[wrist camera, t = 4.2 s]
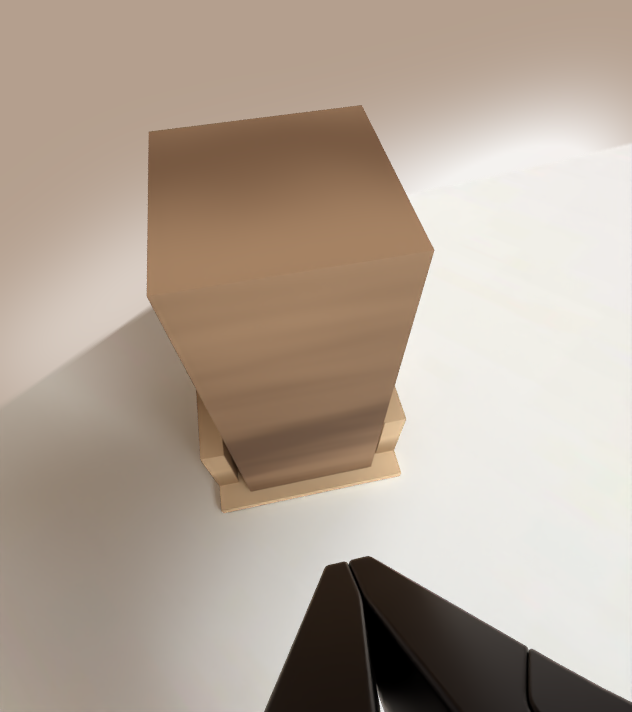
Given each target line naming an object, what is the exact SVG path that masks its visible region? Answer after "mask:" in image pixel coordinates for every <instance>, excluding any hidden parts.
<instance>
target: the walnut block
mask: <svg viewBox="0 0 632 712" xmlns="http://www.w3.org/2000/svg"><path fill="white" fill-rule="evenodd" d="M148 158H149V159H148V163H149V164H148V240H147V244H148V245H147V298H148V300H149V301H150V303H151V305H152V307H153V309H154V311H155V313H156V315H157V316H158V318H159V320H160V322H161V324H162V326H163V328H164V330H165V332H166V333H167V335H168V337H169V339H170V341H171V343H172V345H173V347H174V348H175V350H176V352H177V354H178V356H179V358H180V360H181V362H182V364H183V365H184V367H185V369H186V371H187V373H188V375H189V377H190V379H191V380H192V382H193V384H194V386H195V388H196V390H197V392H198V394H199V396H200V397H201V399H202V401H203V403H204V405H205V407H206V409H207V411H208V412H209V414H210V416H211V418H212V420H213V422H214V424H215V426H216V427H217V429H218V431H219V433H220V435H221V437H222V439H223V441H224V443H225V444H226V446H227V448H228V450H229V452H230V454H231V456H232V458H233V459H234V461H235V463H236V465H237V467H238V469H239V471H240V473H241V475H242V476H243V478H244V480H245V482H246V484H247V486H248V488H249V490H250V491H251V492H252V491H257V490H262V489H267V488H272V487H276V486H281V485H286V484H291V483H295V482H300V481H305V480H310V479H315V478H319V477H324V476H329V475H334V474H339V473H343V472H348V471H353V470H358V469H363V468H367V467H371V464H372V461H373V458H374V454H375V451H376V447H377V444H378V441H379V437H380V434H381V430H382V427H383V423H384V420H385V417H386V413H387V410H388V406H389V403H390V400H391V396H392V393H393V389H394V386H395V383H396V379H397V376H398V372H399V369H400V365H401V362H402V359H403V355H404V352H405V348H406V345H407V342H408V338H409V335H410V331H411V328H412V325H413V321H414V318H415V314H416V311H417V307H418V304H419V301H420V297H421V294H422V290H423V287H424V284H425V280H426V277H427V273H428V270H429V267H430V263H431V260H432V256H433V253H434V249H433V247H432V245H431V243H430V241H429V239H428V237H427V235H426V233H425V231H424V229H423V227H422V225H421V223H420V221H419V219H418V217H417V215H416V213H415V211H414V209H413V207H412V205H411V203H410V201H409V199H408V197H407V195H406V193H405V191H404V189H403V187H402V185H401V183H400V181H399V179H398V177H397V175H396V173H395V171H394V169H393V167H392V165H391V163H390V161H389V159H388V157H387V155H386V153H385V151H384V149H383V147H382V145H381V143H380V141H379V139H378V137H377V135H376V133H375V131H374V129H373V127H372V125H371V123H370V121H369V119H368V117H367V115H366V113H365V111H364V109H363V107H362V105H359V106H351V107H343V108H336V109H327V110H319V111H312V112H304V113H295V114H288V115H279V116H272V117H263V118H255V119H247V120H239V121H231V122H223V123H215V124H207V125H199V126H191V127H183V128H175V129H167V130H159V131H151V132H149V157H148Z"/></svg>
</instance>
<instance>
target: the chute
mask: <svg viewBox="0 0 632 712" xmlns="http://www.w3.org/2000/svg"><path fill="white" fill-rule="evenodd" d="M196 394H197V410H198V427H199V443H200V460H201V461H202V463H203V464H204V465H205V467H206V468H207V470H208V471H209V472H210V474H211V475H212V476H213V478H214V479H215V481H216V482H217V483H218V485H219V486H220V498H221V510H222V512H223V513H227V512H232V511H237V510H241V509H246V508H251V507H255V506H260V505H265V504H270V503H274V502H279V501H284V500H288V499H293V498H298V497H302V496H307V495H312V494H317V493H321V492H326V491H331V490H335V489H340V488H345V487H350V486H354V485H359V484H364V483H368V482H373V481H378V480H383V479H387V478H392V477H397V476H400V474H401V471H400V468H399V465H398V462H397V458H396V455H395V452H394V449H395V446H396V443H397V441H398V438H399V436H400V433H401V431H402V428H403V426H404V423H405V421H406V417H405V414H404V411H403V408H402V405H401V403H400V400H399V397H398V394H397V391H396V388H395V386H394V389H393V393H392V396H391V400H390V403H389V406H388V410H387V413H386V417H385V420H384V423H383V427H382V430H381V434H380V437H379V441H378V444H377V447H376V451H375V454H374V458H373V461H372V464H371V467H367V468H363V469H358V470H353V471H348V472H343V473H339V474H334V475H329V476H324V477H319V478H315V479H310V480H305V481H300V482H295V483H291V484H286V485H281V486H276V487H272V488H267V489H262V490H257V491H252V492H251V491H250V490H249V488H248V486H247V484H246V482H245V480H244V478H243V476H242V475H241V473H240V471H239V469H238V467H237V465H236V463H235V461H234V459H233V458H232V456H231V454H230V452H229V450H228V448H227V446H226V444H225V443H224V441H223V439H222V437H221V435H220V433H219V431H218V429H217V427H216V426H215V424H214V422H213V420H212V418H211V416H210V414H209V412H208V411H207V409H206V407H205V405H204V403H203V401H202V399H201V397H200V396H199V394H198V392H197V390H196Z"/></svg>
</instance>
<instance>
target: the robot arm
mask: <svg viewBox="0 0 632 712" xmlns="http://www.w3.org/2000/svg"><path fill="white" fill-rule="evenodd" d="M377 691H378V692H377ZM378 695H379V698H380V701H381V703H382V706H383V709H384V712H632V702H630V701H628V700H626V699H624V698H622V697H620V696H618V695H616V694H614V693H612V692H610V691H608V690H606V689H604V688H602V687H600V686H598V685H597V684H595V683H593V682H591V681H589V680H587V679H586V678H584V677H582V676H580V675H578V674H576V673H575V672H573V671H571V670H569V669H567V668H565V667H564V666H562V665H560V664H558V663H556V662H555V661H553V660H551V659H549V658H548V657H546V656H544V655H542V654H541V653H539V652H537V651H535V650H534V649H530V650H529V651H528V648H527V647H526V646H525V645H523V644H521V643H520V642H518V641H516V640H515V639H513V638H511V637H509V636H508V635H506V634H504V633H502V632H501V631H499V630H497V629H496V628H494V627H492V626H490V625H489V624H487V623H485V622H483V621H482V620H480V619H478V618H476V617H475V616H473V615H471V614H470V613H468V612H466V611H464V610H463V609H461V608H459V607H457V606H456V605H454V604H452V603H450V602H449V601H447V600H445V599H444V598H442V597H440V596H438V595H437V594H435V593H433V592H431V591H430V590H428V589H426V588H424V587H423V586H421V585H419V584H418V583H416V582H414V581H412V580H411V579H409V578H407V577H405V576H404V575H402V574H400V573H398V572H397V571H395V570H393V569H392V568H390V567H388V566H386V565H385V564H383V563H381V562H379V561H378V560H376V559H374V558H372V557H370V556H366V557H362V558H358V559H353V560H351V561H350V562H349V565H348V563H347V562H340V563H336V564H332V565H328V566H326V567H325V569H324V571H323V573H322V576H321V578H320V581H319V583H318V585H317V588H316V590H315V592H314V595H313V597H312V599H311V602H310V604H309V607H308V609H307V611H306V614H305V616H304V618H303V621H302V623H301V626H300V628H299V630H298V633H297V635H296V637H295V640H294V642H293V644H292V647H291V649H290V652H289V654H288V656H287V659H286V661H285V663H284V666H283V668H282V671H281V673H280V675H279V678H278V680H277V682H276V685H275V687H274V689H273V692H272V694H271V697H270V699H269V701H268V704H267V706H266V708H265V711H264V712H380V705H379V698H378Z"/></svg>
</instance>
